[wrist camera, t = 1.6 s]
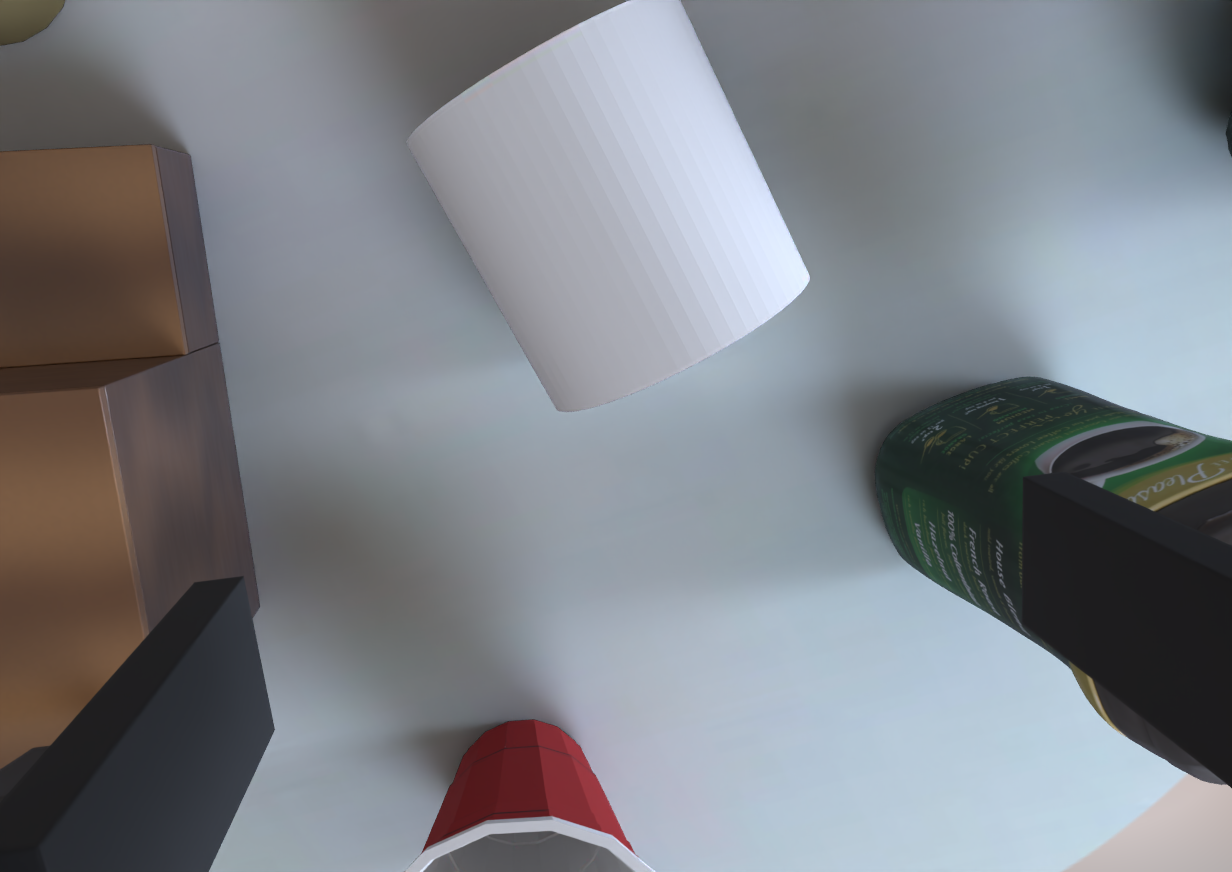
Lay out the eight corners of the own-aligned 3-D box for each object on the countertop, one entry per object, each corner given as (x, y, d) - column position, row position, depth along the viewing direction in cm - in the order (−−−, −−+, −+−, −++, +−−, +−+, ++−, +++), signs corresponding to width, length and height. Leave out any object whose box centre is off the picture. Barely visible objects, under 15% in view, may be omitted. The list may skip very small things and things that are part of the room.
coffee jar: (896, 589, 41) (1197, 862, 23) (850, 427, 40) (1138, 589, 22) (1094, 515, 42) (1541, 727, 24) (1058, 350, 40) (1513, 447, 22)
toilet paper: (420, 157, 35) (388, 127, 26) (650, 31, 35) (705, -47, 26) (548, 385, 38) (563, 436, 28) (763, 266, 38) (853, 277, 28)
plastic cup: (548, 613, 40) (566, 769, 28) (686, 788, 42) (754, 998, 31) (344, 756, 40) (278, 969, 28) (493, 921, 43) (489, 1179, 31)
